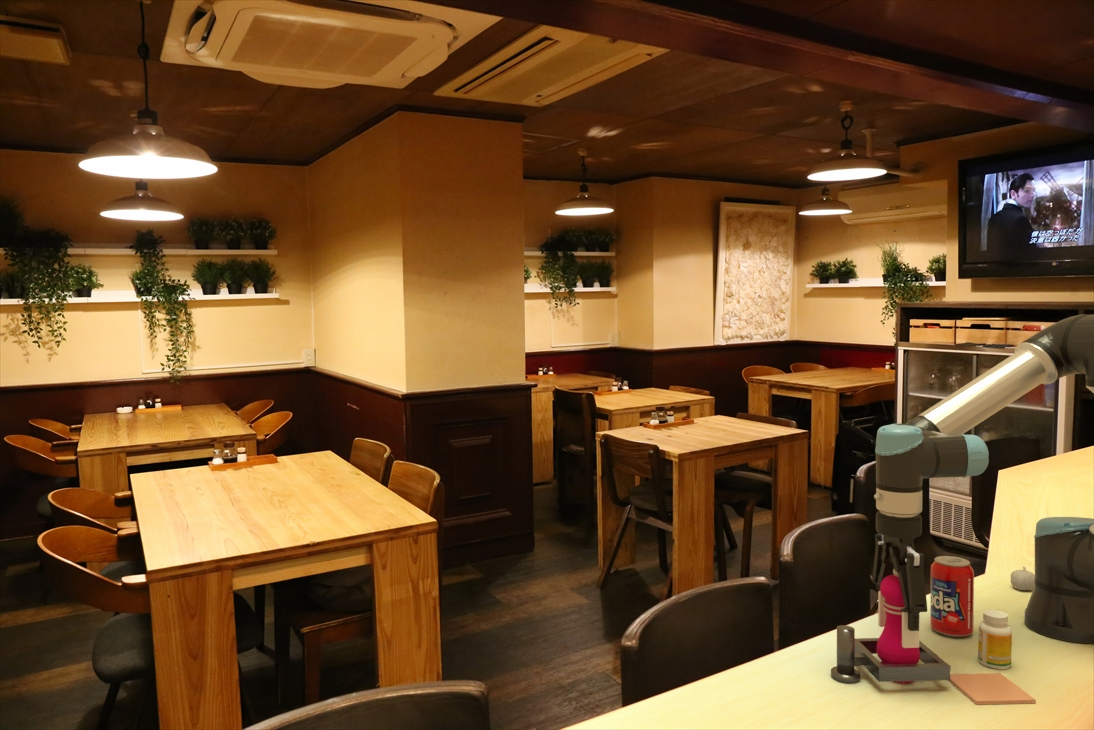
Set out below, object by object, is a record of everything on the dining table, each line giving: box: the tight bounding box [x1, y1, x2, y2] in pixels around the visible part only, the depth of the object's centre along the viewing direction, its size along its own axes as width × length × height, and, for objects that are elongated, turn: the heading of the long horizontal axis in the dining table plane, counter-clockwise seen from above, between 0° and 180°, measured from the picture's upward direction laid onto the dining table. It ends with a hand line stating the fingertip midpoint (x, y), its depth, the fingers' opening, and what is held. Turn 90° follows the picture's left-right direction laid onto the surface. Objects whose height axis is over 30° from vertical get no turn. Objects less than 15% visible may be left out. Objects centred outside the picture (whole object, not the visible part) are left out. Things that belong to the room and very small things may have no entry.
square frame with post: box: [830, 624, 951, 685], centre depth 140 cm, size 18×12×9 cm
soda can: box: [929, 555, 975, 638], centre depth 159 cm, size 8×8×15 cm
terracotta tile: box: [947, 672, 1037, 706], centre depth 134 cm, size 10×10×1 cm
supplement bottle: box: [977, 609, 1013, 670], centre depth 144 cm, size 5×5×10 cm
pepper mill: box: [876, 569, 921, 685], centre depth 140 cm, size 7×7×20 cm
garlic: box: [1010, 566, 1035, 591], centre depth 184 cm, size 6×5×5 cm
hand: (898, 636), depth 140 cm, fingers open, 9 cm apart
